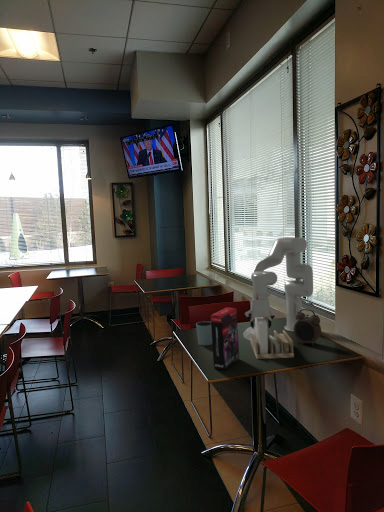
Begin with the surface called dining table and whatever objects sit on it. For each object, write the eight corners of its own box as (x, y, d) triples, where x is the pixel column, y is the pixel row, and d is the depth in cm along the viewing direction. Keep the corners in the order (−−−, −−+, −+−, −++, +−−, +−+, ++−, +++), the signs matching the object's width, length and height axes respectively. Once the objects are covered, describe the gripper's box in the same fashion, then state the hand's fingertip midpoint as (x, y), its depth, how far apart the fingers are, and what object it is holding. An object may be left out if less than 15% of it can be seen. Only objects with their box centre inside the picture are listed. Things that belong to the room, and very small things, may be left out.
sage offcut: (271, 345, 209) (271, 335, 209) (280, 355, 193) (280, 344, 193) (267, 345, 209) (267, 335, 208) (275, 356, 193) (275, 345, 193)
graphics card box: (224, 371, 177) (222, 316, 174) (212, 368, 180) (209, 314, 178) (239, 359, 191) (238, 308, 188) (227, 356, 195) (225, 306, 192)
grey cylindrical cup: (204, 347, 211) (204, 327, 209) (193, 343, 218) (192, 323, 217) (217, 342, 217) (216, 323, 216) (205, 339, 225) (204, 319, 224)
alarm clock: (292, 343, 211) (292, 309, 209) (298, 339, 216) (297, 306, 214) (316, 348, 201) (316, 312, 199) (322, 344, 206) (322, 309, 204)
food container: (259, 329, 239) (258, 319, 238) (278, 343, 215) (277, 332, 214) (237, 334, 235) (236, 324, 234) (254, 349, 211) (253, 338, 210)
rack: (283, 342, 212) (283, 329, 211) (293, 357, 190) (293, 342, 189) (250, 344, 212) (250, 330, 211) (256, 358, 190) (256, 343, 190)
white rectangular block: (262, 345, 209) (261, 314, 207) (268, 356, 193) (267, 323, 191) (255, 345, 209) (254, 315, 207) (260, 356, 193) (259, 323, 192)
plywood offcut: (282, 345, 208) (281, 333, 208) (288, 355, 194) (288, 342, 193) (277, 345, 209) (277, 333, 208) (284, 355, 194) (283, 342, 193)
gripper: (274, 294, 202) (275, 324, 203) (243, 295, 202) (244, 326, 204) (277, 297, 194) (278, 329, 196) (244, 298, 195) (245, 330, 196)
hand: (260, 327), depth 200 cm, fingers open, 8 cm apart
